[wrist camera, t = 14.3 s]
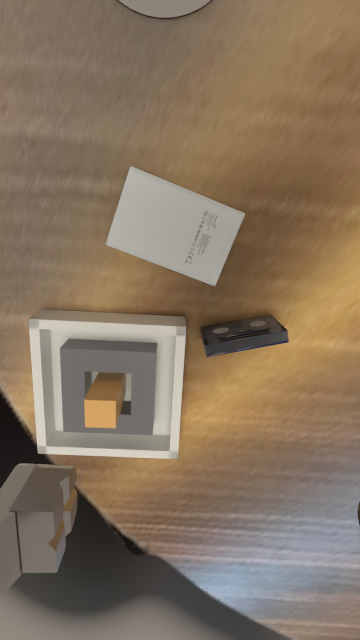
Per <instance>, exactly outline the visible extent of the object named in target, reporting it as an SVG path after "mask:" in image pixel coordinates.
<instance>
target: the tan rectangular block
mask: <svg viewBox="0 0 360 640" xmlns="http://www.w3.org/2000/svg"><path fill="white" fill-rule="evenodd" d="M125 395H126V373H108V372H98V374H97V376H96V378H95V380H94V382H93V384H92V386H91V388H90V390H89V392H88V394H87V395H86V397H85V399H84V409H85V427H92V428H116V426H117V423H118V419H119V416H120V412H121V409H122V405H123V402H124V399H125Z"/></svg>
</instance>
